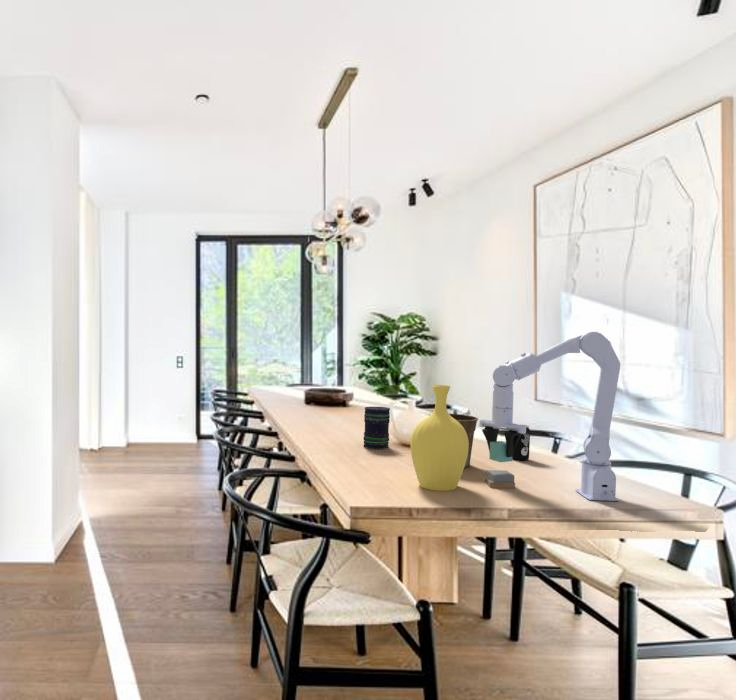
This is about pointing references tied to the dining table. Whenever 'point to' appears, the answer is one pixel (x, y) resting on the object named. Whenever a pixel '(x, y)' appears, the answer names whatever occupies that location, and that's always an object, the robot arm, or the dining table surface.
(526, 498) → the dining table surface
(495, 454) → the teal block
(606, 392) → the robot arm
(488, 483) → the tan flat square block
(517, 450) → the beverage can
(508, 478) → the grey slab
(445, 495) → the dining table surface
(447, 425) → the vase
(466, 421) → the plant pot
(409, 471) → the dining table surface
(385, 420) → the storage jar
